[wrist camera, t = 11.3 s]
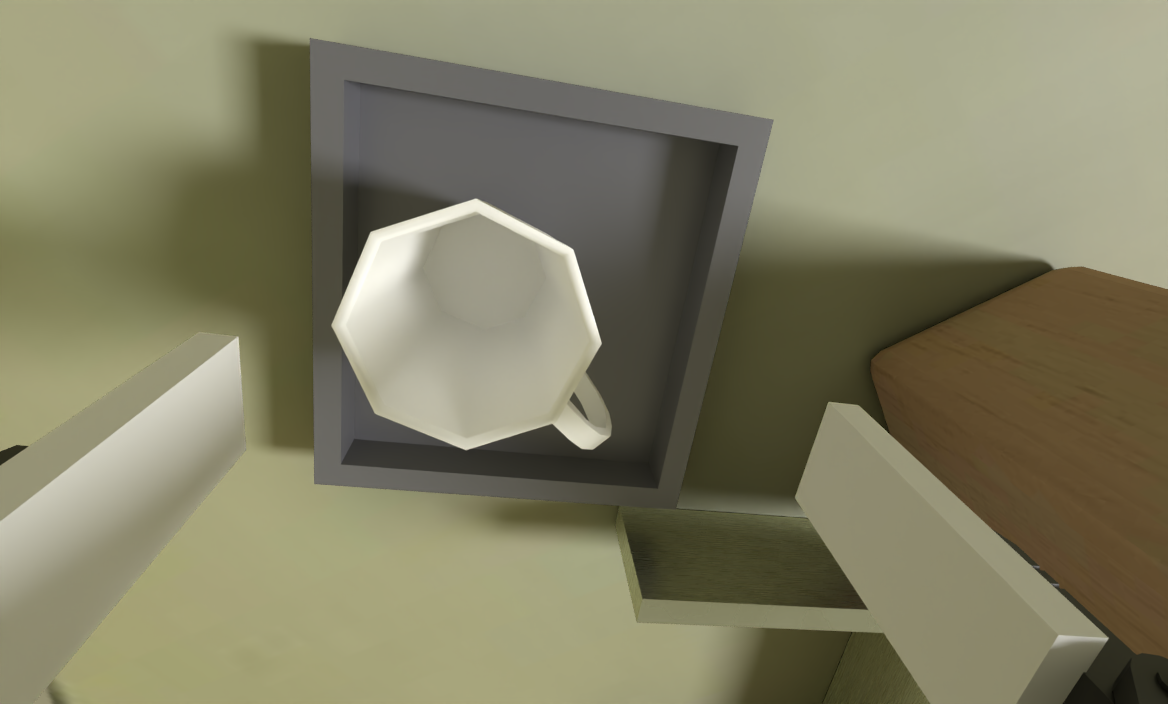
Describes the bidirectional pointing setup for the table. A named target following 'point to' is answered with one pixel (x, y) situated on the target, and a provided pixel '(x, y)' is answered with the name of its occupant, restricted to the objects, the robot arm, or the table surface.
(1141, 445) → the wooden block
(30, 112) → the table surface
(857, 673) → the bay
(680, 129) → the tray
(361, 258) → the cup
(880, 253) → the table surface
